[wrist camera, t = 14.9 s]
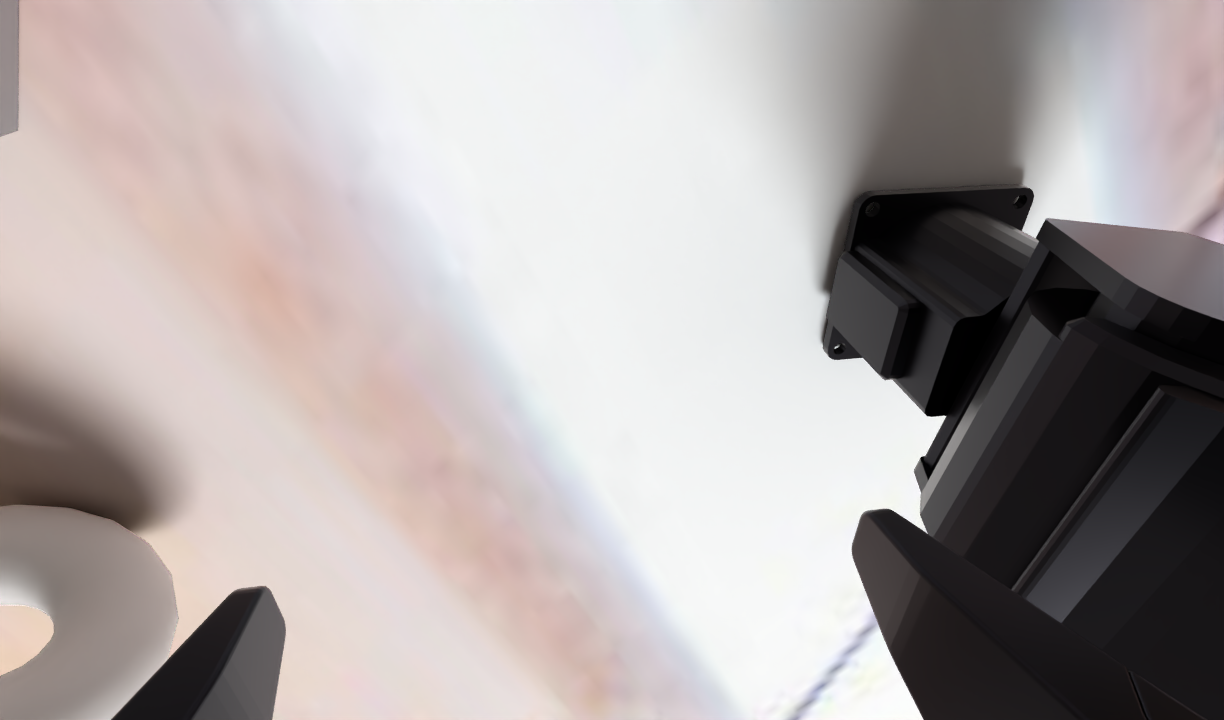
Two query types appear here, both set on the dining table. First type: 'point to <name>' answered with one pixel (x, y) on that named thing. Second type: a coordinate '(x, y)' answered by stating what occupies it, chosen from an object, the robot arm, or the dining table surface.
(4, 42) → the socket
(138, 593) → the donut
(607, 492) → the dining table surface
